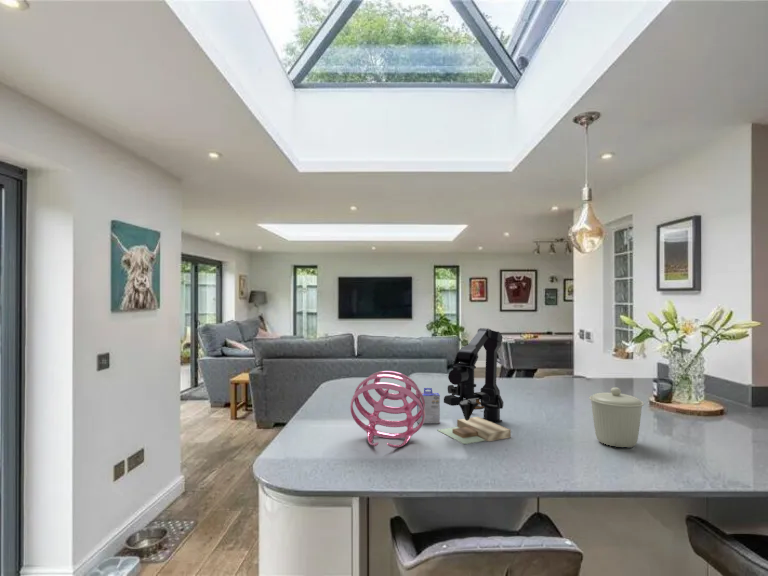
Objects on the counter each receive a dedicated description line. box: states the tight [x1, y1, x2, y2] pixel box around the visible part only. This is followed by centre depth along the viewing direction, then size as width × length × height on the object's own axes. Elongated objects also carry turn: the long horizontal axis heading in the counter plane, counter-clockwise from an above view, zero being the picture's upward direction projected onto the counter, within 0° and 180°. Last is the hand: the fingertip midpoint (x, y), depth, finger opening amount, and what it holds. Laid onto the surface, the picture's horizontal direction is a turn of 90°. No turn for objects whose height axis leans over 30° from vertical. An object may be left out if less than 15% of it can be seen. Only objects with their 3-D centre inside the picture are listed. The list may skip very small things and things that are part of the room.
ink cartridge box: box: [416, 387, 441, 424], centre depth 184 cm, size 10×6×14 cm, turn 90°
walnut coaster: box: [453, 427, 478, 438], centre depth 167 cm, size 7×7×2 cm
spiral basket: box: [349, 370, 425, 449], centre depth 157 cm, size 28×28×27 cm
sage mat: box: [437, 426, 486, 445], centre depth 166 cm, size 10×18×1 cm, turn 26°
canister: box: [589, 387, 645, 448], centre depth 158 cm, size 18×18×21 cm
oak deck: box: [456, 416, 512, 442], centre depth 171 cm, size 11×20×3 cm, turn 26°
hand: (466, 420), depth 168 cm, fingers closed
